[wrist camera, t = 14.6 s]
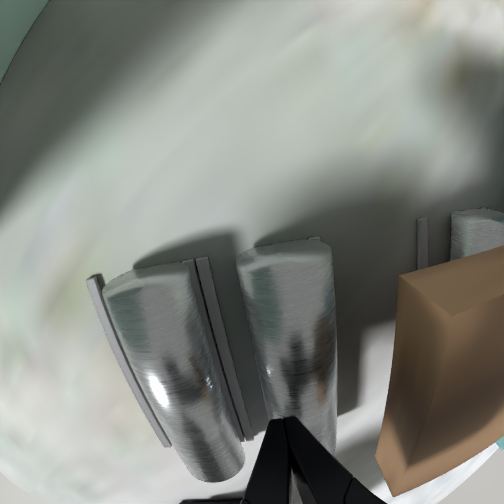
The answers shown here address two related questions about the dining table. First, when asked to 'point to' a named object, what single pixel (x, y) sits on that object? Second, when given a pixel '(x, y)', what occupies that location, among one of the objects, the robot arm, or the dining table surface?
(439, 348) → the slab
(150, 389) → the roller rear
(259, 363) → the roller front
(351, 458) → the dining table surface
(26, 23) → the planter
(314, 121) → the dining table surface
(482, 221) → the roller
